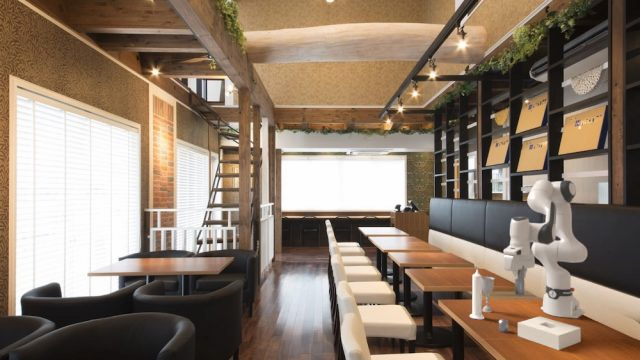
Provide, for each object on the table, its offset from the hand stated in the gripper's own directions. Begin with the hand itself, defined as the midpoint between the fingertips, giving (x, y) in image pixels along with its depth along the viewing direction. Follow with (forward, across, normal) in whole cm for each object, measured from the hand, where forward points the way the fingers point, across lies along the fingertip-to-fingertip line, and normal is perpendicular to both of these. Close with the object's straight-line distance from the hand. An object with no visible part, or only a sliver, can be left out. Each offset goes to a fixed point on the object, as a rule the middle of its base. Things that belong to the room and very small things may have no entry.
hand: (519, 278), depth 194 cm
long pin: (+8, 0, 0) cm, 8 cm away
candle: (+23, +8, -19) cm, 31 cm away
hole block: (+23, +4, +16) cm, 29 cm away
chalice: (+23, -6, -23) cm, 33 cm away
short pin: (+23, +14, 0) cm, 27 cm away
